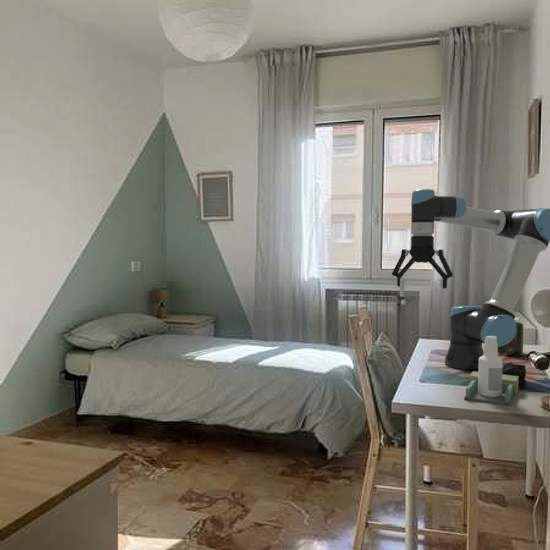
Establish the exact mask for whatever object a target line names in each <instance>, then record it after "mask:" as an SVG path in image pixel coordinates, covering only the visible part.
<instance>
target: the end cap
mask: <svg viewBox="0 0 550 550" xmlns="http://www.w3.org/2000/svg"><path fill="white" fill-rule="evenodd" d="M502 374H504V375H513V376H519V383H518V388H520V389H519V390H526V386H527V385H526V383H527V382H526V381H527V380H526V376H527V368H526V365H525V364H514V363H513V362H512V361H509V362H507V363H505V364H503V365H502Z"/></svg>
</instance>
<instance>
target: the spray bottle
mask: <svg viewBox="0 0 550 550" xmlns="http://www.w3.org/2000/svg"><path fill="white" fill-rule="evenodd" d="M483 344H484V345H483V352H484V355H483V356H481V357H480V358H479V369H478V371H477V372H478V394H480V395H482V396H486V397H500V396H501V395H502V369H503V359H502V358H501V357H500V356H498V355H499V354H498V351H497V350H498V344H497V337H496V336H486V337H485V343H483Z"/></svg>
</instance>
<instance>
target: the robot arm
mask: <svg viewBox="0 0 550 550" xmlns="http://www.w3.org/2000/svg"><path fill="white" fill-rule="evenodd" d="M410 204H411V211H410V212H411V213H410V216H411V223H410V224H411V226H410V229H411V231H410V232H411V233H410V234H411V237H410V249H405V248H404V249H401V251H400V252H401V253H400V257H399V259H398V260H397V263H396V265H395V267H394V268H393V270H392V272H391V275H392V276H394V277H396V278H397V280H396V283H397V284H396V285H397V287H399V297H404V296H405V277H404V275H405V274H406V273H407V271H408V270H409V269H410V268H411V267H412V266H413V264H415V263H424V264H426V263H428V264H430V265H431V266H432V267H433V269H434V270H435V271H436V272H437V273H438V275H439V276H440V277H441V278H439V299H442V300H443V299H444V298H445V289H447V288H448V279H449V278H452V277H453V276H454V274H453V272H452V269H451V268H450V266H449V263H448V261H447V259H446V257H445V254H444V250H443V249H441V248H440V249H438V250H435V249H434V247H435V246H434V245H435V242H434V241H435V236H434V234H435V222H438V223H443V224H444V223H445V224H450V225H454V226H459V227H466V228H471V229H476V230H481V231H486V232H489V234H491V235H494V236H499V237H501V238H506V239H510V240H514V241H515V245H514V248H513V249H512V252H511V254H510V256H509V258H508V261H507V262H506V265H505V267H504V269H503V271H502V273H501V275H500V278H499V280H498V282H497V285H496V286H495V288H494V291H493V293H492V294H491V297H490V299H489V300H487V301H486V302H483V304H482V305H465V306H462V305H461V306H453V307H452V308H451V309H450V316H449V318H450V319H449V322H450V323H449V326H450V327H449V330H450V333H449V336H450V337H449V341H450V343H449V347H448V349H447V351H446V354H445V357H444V364H445V366H446V367H450V368H453V369H459V370H460V369H461V370H479V358H480V357H481V356H483V355H484V347H483V344H484V343H485V337H486V336H496V337H497V344H498V347H499V346H504V345H506V344H508V343H509V342H511V341H512V339H513V338H514V336H515V334H516V330H517V328H516V322H515V320H514V319H515V318H516V313H515V311H514V309H515V308H516V305H517V303H518V301H519V298H520V297H521V295H522V292H523V290H524V288H525V285H526V283H527V281H528V279H529V277H530V275H531V272H532V270H533V269H534V266H535V264H536V262H537V259H538V257H539V254H540V253H541V252H544V251H546V250H547V248H548V247H549V244H550V208H544V207H540V208H533V209H518V210H516V209H515V210H501V209H496V210H494V211H491V210H488V209H481V208H477V207H472V206H467V202H466V200H465V198H463V197H462V196H456V195H452V196H450V195H447V196H445V195H444V196H442V195H439V196H438V195H436V193H435V190H434V189H429V188H424V189H421V188H420V189H414V190H413V191H412V193H411V203H410ZM409 255H410V257H411V258H410V259H409V260H408V262H407V263H406V264H405V265H404V267H403V268H402V269H401V267H402V265H403V264H404V261H405V260H406V257H407V256H409ZM435 255H436V256H437V257H438V259H439V260H440V263H441V264H442V267H443V268H444V270H445V271H444V270H443V269H442V268H441V266H440V265H439V264H438V263H437V262H436V260H435V259H434V258H433V257H434V256H435Z"/></svg>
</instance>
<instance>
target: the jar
mask: <svg viewBox="0 0 550 550" xmlns="http://www.w3.org/2000/svg"><path fill="white" fill-rule="evenodd" d="M514 320H515V322H516V328H517V330H516V334H515V336H514V338H513V339H512V341H511V342H509V343H508V344H506V345H504V346H499V347H498V350H497V351H498V353H499V354H498V355H501V354H506V355H505V356H521V355H520V354H522V355H523V354H524V324H523V323H522V322H520V318H519V317H515V319H514Z"/></svg>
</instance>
